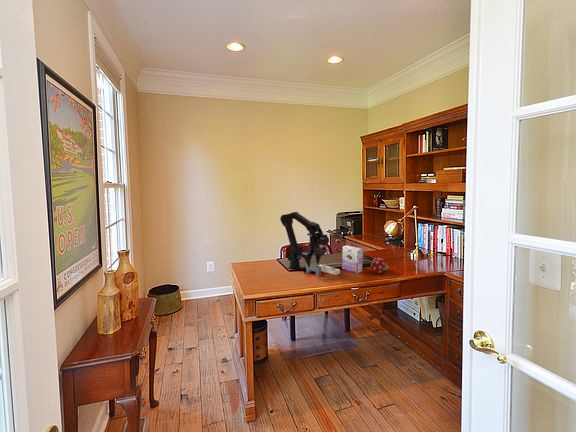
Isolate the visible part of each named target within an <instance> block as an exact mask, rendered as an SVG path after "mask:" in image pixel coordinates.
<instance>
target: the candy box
mask: <svg viewBox="0 0 576 432" xmlns="http://www.w3.org/2000/svg"><path fill="white" fill-rule="evenodd" d="M341 249H342V250H341V269H342V270H344V271H348V272H350V273H351V272H352V273H353V274H354V273H355V274H360V273H362V272H363V257H364V255H363V254H364V248H361V247H355V246H352V245H348V244H347V245H343V246H342V248H341Z"/></svg>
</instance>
